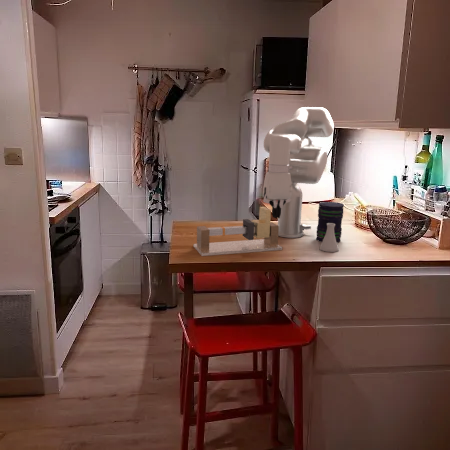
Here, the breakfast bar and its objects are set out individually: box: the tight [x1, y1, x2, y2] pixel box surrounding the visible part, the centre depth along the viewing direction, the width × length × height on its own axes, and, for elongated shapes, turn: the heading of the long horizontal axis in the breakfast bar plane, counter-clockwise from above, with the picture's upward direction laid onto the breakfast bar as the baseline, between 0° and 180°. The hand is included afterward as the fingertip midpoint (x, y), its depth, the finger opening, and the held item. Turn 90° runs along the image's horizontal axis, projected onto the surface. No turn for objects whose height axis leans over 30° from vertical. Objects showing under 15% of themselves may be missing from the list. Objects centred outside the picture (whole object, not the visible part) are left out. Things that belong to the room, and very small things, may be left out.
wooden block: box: [251, 206, 272, 239], centre depth 166 cm, size 5×6×11 cm
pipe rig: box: [193, 221, 283, 257], centre depth 165 cm, size 31×12×8 cm, turn 108°
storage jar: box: [315, 201, 345, 244], centre depth 178 cm, size 10×10×15 cm
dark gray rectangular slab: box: [242, 218, 255, 240], centre depth 165 cm, size 2×6×6 cm, turn 19°
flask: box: [319, 223, 339, 253], centre depth 166 cm, size 7×7×10 cm
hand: (276, 217), depth 168 cm, fingers closed
